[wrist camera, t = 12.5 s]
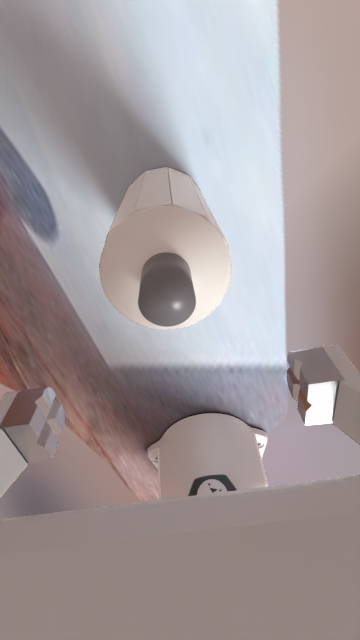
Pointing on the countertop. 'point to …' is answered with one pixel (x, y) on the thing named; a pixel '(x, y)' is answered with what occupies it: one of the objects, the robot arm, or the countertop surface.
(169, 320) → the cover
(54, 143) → the countertop surface
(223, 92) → the countertop surface
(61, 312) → the countertop surface
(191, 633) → the robot arm
